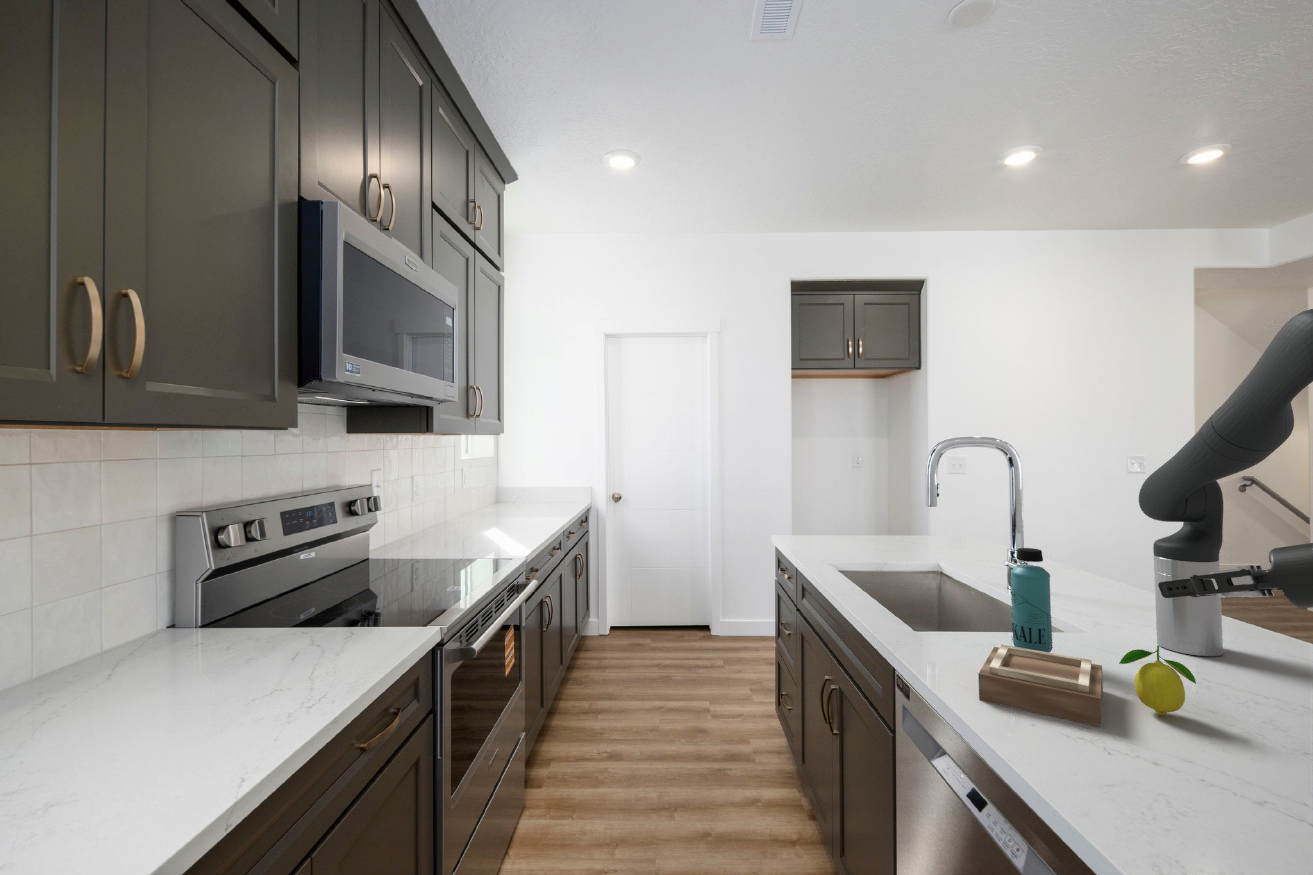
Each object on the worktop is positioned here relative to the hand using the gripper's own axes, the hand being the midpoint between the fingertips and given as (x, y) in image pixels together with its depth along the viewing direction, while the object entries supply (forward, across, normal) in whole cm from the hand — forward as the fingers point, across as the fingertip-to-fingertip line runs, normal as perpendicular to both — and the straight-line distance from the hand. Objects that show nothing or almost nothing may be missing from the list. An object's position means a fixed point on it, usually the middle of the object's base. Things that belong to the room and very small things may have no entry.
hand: (1174, 590), depth 82 cm
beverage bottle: (+28, -10, +9) cm, 31 cm away
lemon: (+8, -1, +17) cm, 19 cm away
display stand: (+20, +6, +14) cm, 24 cm away
